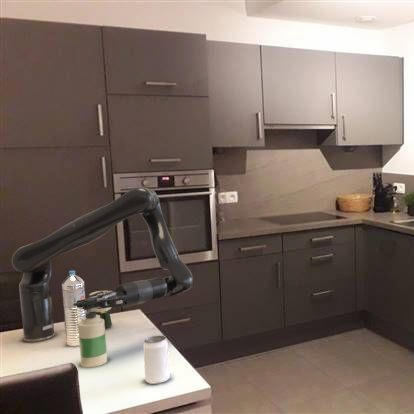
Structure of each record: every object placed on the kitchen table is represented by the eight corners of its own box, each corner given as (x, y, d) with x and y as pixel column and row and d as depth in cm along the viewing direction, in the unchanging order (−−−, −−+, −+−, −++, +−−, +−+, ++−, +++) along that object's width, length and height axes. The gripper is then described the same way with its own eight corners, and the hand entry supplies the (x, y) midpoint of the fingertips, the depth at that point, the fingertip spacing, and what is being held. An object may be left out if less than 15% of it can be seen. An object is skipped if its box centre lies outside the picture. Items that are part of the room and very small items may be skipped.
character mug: (90, 333, 195) (87, 298, 193) (83, 328, 200) (80, 294, 198) (121, 326, 202) (119, 292, 201) (114, 321, 207) (112, 288, 206)
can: (149, 375, 158) (147, 335, 157) (172, 374, 159) (170, 334, 157) (142, 385, 152) (139, 343, 150) (166, 383, 152) (163, 342, 151)
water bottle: (79, 347, 181) (73, 273, 178) (61, 346, 183) (55, 273, 180) (93, 340, 188) (88, 269, 185) (76, 339, 189) (70, 268, 186)
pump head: (93, 309, 168) (92, 297, 168) (97, 311, 167) (96, 298, 166) (72, 315, 163) (71, 302, 163) (76, 316, 162) (75, 303, 161)
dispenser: (100, 356, 173) (96, 307, 171) (111, 361, 169) (108, 311, 167) (76, 363, 168) (72, 313, 166) (87, 369, 163) (83, 317, 161)
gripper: (122, 278, 181) (68, 289, 168) (145, 285, 172) (90, 297, 159) (124, 300, 182) (70, 313, 168) (146, 308, 173) (91, 322, 160)
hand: (80, 305), depth 164 cm, fingers closed on pump head, 3 cm apart
